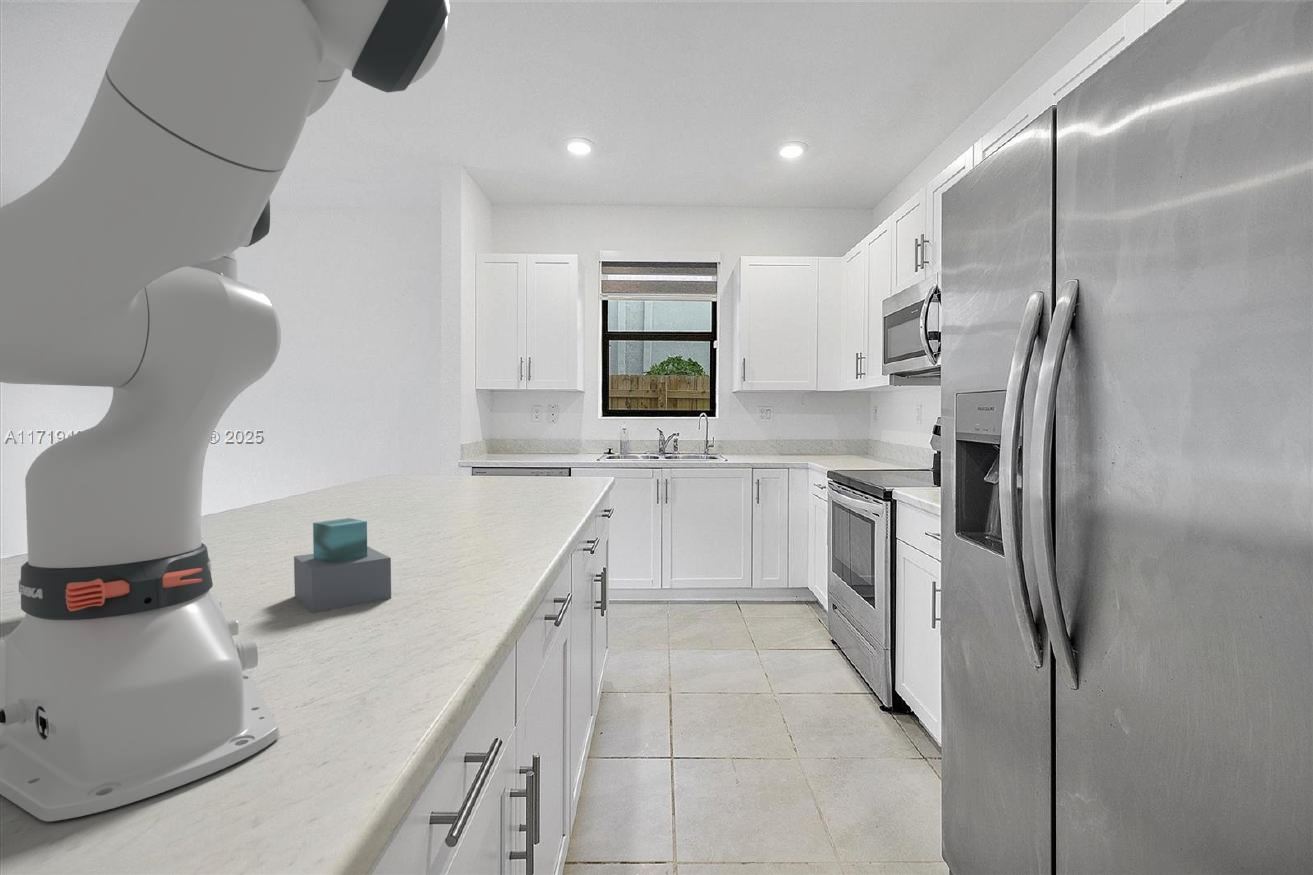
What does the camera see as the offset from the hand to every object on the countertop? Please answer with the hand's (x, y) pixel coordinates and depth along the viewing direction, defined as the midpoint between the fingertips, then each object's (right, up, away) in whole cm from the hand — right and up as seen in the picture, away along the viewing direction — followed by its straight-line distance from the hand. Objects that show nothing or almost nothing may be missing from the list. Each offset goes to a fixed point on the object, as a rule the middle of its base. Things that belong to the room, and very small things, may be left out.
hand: (198, 389), depth 82 cm
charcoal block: (+15, -29, +8) cm, 34 cm away
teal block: (+15, -23, +7) cm, 28 cm away
